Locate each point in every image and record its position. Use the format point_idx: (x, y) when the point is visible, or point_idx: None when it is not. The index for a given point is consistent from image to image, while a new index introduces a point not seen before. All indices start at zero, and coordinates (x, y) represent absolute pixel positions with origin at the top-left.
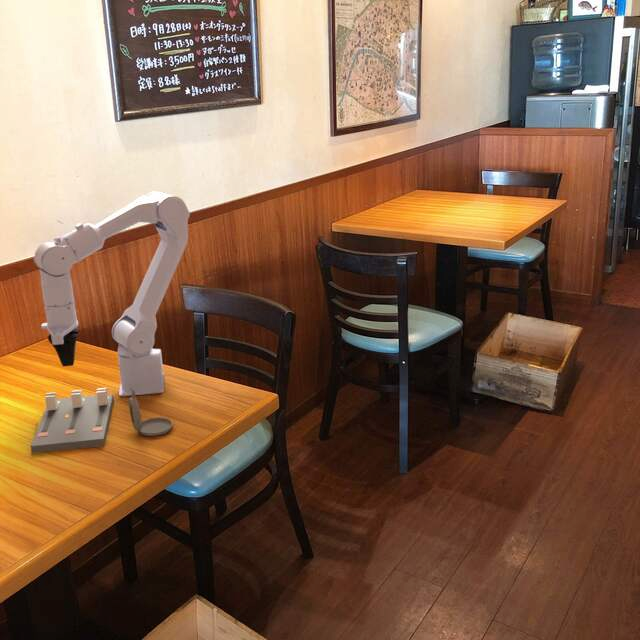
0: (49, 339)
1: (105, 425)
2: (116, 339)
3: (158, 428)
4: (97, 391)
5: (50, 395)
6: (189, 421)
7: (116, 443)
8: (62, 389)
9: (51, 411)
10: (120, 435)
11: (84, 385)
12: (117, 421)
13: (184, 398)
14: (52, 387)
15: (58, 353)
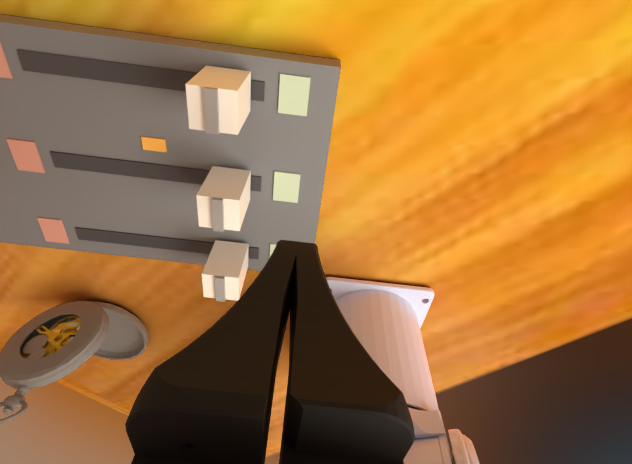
0: (140, 397)
1: (82, 249)
2: (427, 458)
3: (109, 331)
4: (211, 277)
5: (203, 110)
6: (147, 374)
7: (31, 253)
8: (494, 106)
9: None
10: (77, 263)
11: (482, 186)
12: (162, 261)
13: None
14: (547, 61)
15: (245, 297)
